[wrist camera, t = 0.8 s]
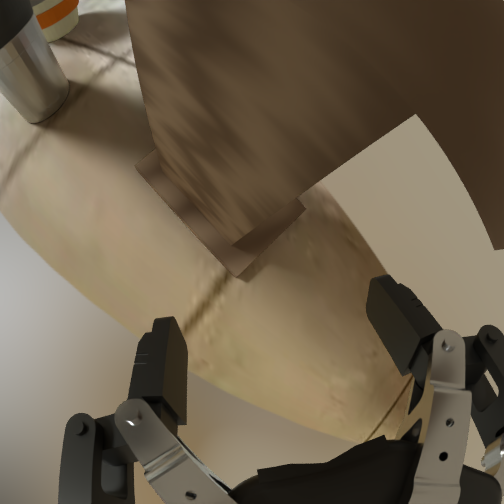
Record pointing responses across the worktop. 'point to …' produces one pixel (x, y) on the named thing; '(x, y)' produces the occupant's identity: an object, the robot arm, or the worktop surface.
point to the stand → (309, 102)
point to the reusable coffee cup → (56, 17)
